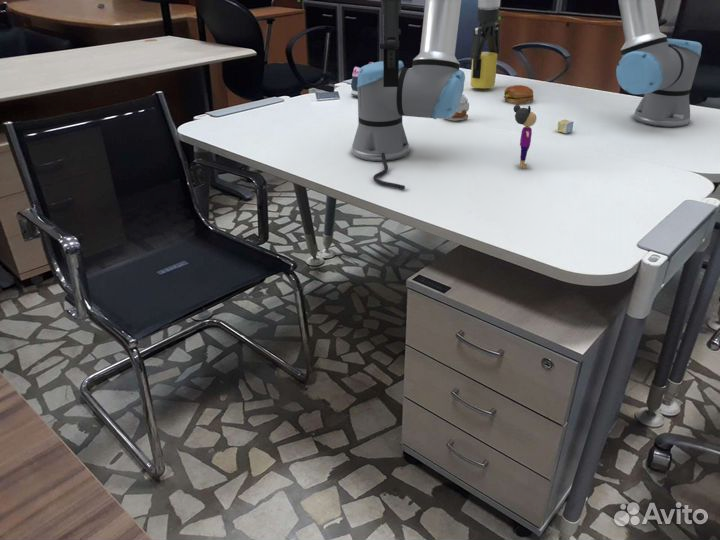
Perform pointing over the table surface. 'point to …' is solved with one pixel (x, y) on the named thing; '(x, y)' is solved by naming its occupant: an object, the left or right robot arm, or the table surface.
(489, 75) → the canister
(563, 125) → the alphabet block
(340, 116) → the table surface
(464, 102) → the cream topped cupcake
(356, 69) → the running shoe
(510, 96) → the burger
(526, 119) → the toy
